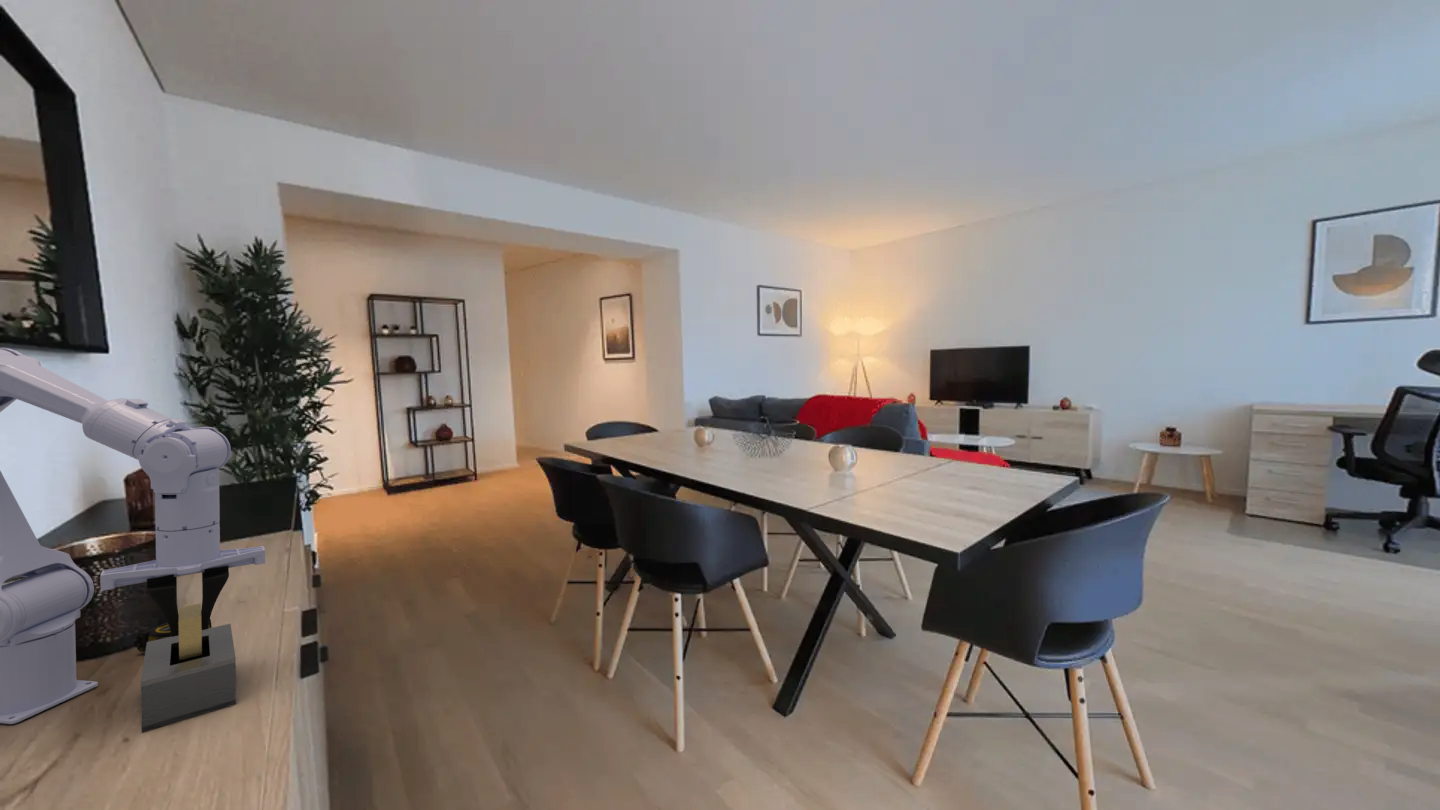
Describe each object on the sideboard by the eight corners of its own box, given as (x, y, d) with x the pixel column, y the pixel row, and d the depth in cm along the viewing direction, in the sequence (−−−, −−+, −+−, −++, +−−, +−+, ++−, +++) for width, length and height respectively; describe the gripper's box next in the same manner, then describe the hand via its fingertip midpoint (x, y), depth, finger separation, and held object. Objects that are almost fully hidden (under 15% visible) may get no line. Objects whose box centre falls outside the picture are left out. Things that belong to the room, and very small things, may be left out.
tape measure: (188, 634, 83) (187, 610, 83) (224, 639, 82) (223, 615, 82) (133, 656, 77) (132, 631, 76) (171, 662, 75) (170, 636, 75)
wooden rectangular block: (179, 645, 69) (179, 607, 69) (201, 640, 70) (200, 603, 70) (179, 660, 65) (178, 620, 65) (201, 654, 67) (201, 615, 66)
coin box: (147, 686, 69) (146, 642, 69) (230, 664, 75) (230, 623, 75) (141, 732, 61) (140, 681, 61) (236, 704, 67) (235, 657, 66)
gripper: (96, 544, 59) (98, 663, 60) (267, 522, 69) (267, 623, 70) (103, 529, 64) (105, 639, 65) (262, 511, 74) (262, 606, 75)
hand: (190, 630), depth 67 cm, fingers closed on wooden rectangular block, 2 cm apart
